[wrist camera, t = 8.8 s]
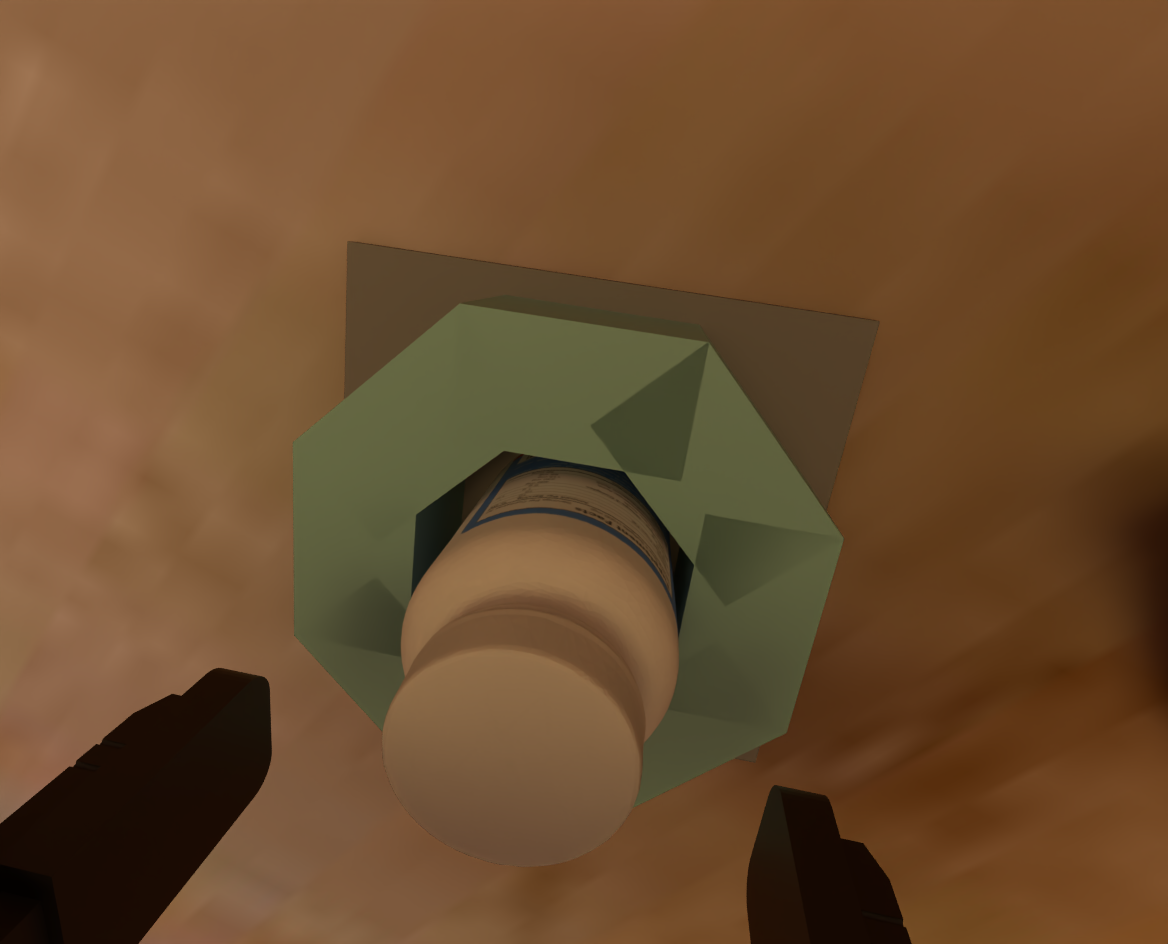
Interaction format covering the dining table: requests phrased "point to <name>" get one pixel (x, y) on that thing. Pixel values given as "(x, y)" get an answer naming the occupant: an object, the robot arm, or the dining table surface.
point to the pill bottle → (535, 667)
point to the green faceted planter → (585, 436)
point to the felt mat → (735, 327)
